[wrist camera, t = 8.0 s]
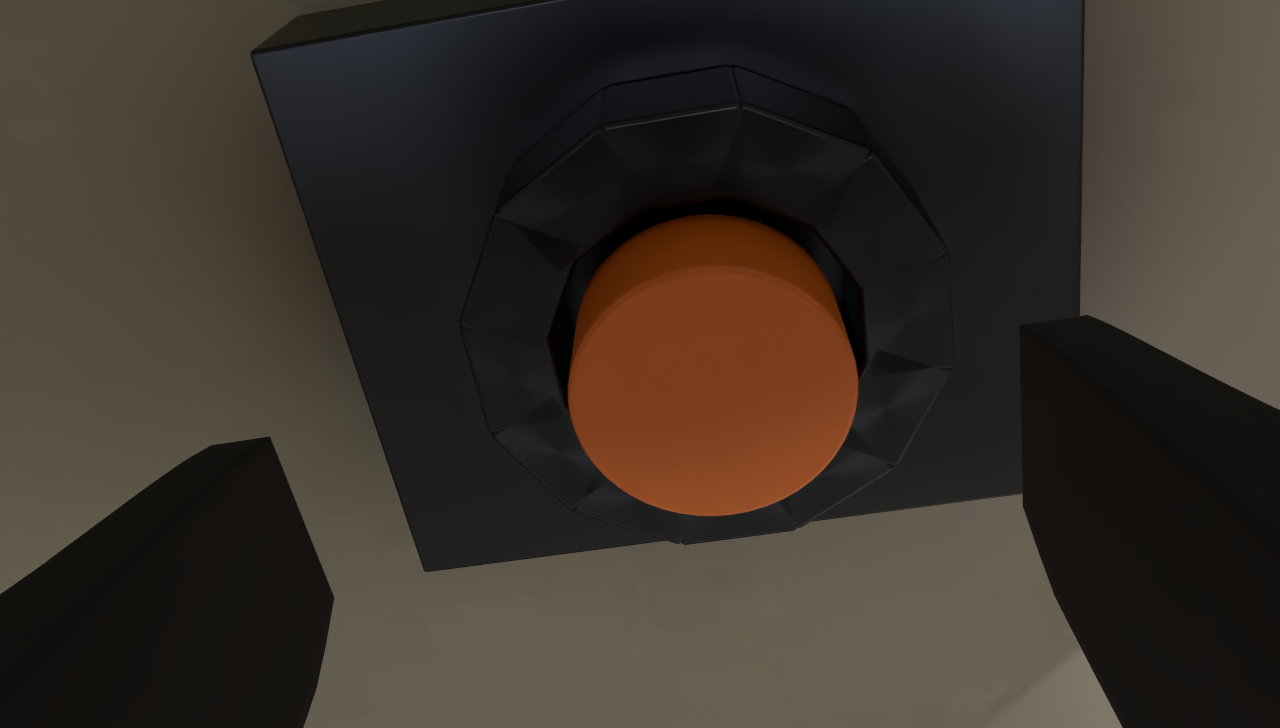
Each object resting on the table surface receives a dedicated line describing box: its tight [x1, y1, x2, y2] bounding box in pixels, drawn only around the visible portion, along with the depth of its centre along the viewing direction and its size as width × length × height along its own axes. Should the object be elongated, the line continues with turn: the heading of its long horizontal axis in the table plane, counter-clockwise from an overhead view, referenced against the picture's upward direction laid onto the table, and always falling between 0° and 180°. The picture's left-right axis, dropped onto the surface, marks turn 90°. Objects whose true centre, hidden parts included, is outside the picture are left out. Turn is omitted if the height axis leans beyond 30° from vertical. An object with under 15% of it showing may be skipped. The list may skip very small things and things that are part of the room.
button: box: [568, 214, 858, 516], centre depth 15 cm, size 4×4×2 cm
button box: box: [250, 0, 1085, 572], centre depth 17 cm, size 11×9×4 cm
